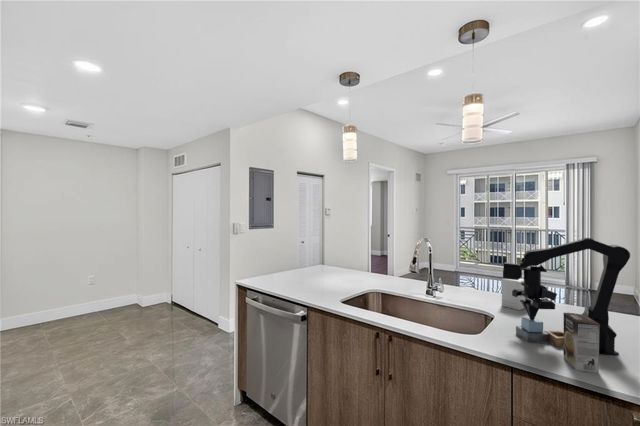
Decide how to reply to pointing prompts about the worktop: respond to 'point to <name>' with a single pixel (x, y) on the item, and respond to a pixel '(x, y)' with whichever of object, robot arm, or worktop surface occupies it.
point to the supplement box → (507, 289)
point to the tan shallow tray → (556, 338)
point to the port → (532, 335)
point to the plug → (532, 324)
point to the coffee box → (581, 342)
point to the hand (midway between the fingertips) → (532, 319)
